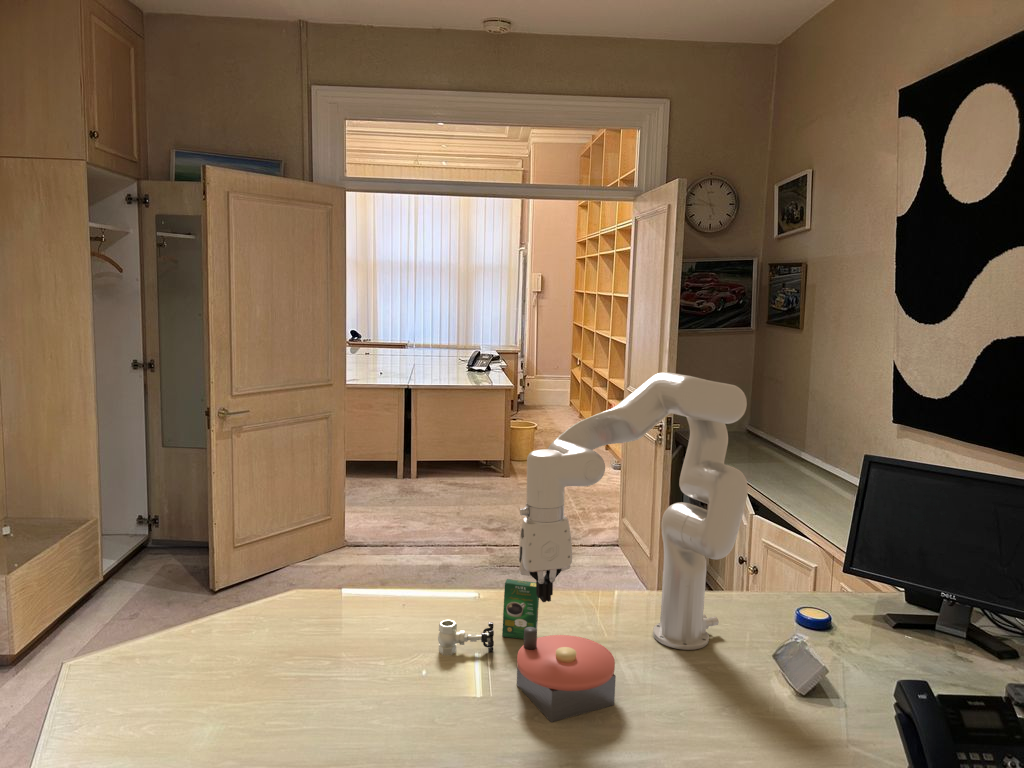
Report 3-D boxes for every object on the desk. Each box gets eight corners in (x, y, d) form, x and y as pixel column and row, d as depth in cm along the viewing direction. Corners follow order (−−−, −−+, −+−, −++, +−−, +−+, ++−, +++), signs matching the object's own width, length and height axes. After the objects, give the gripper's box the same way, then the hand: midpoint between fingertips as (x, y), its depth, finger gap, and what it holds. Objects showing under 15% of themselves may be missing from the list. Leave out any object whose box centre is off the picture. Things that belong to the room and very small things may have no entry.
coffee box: (538, 635, 169) (540, 581, 167) (536, 641, 166) (538, 586, 164) (504, 632, 170) (505, 577, 168) (501, 637, 167) (503, 582, 166)
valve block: (576, 670, 154) (577, 643, 153) (614, 704, 141) (615, 675, 141) (516, 684, 148) (517, 656, 147) (550, 722, 135) (552, 691, 134)
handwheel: (629, 657, 147) (630, 634, 146) (589, 702, 131) (591, 675, 130) (545, 633, 157) (546, 610, 156) (498, 671, 140) (499, 647, 140)
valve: (437, 659, 157) (493, 659, 158) (437, 630, 156) (494, 630, 157) (438, 644, 163) (492, 644, 164) (438, 616, 163) (492, 616, 164)
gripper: (515, 521, 141) (515, 612, 143) (587, 514, 145) (585, 602, 148) (503, 510, 148) (503, 596, 150) (572, 503, 152) (571, 587, 155)
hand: (544, 599), depth 149 cm, fingers closed
